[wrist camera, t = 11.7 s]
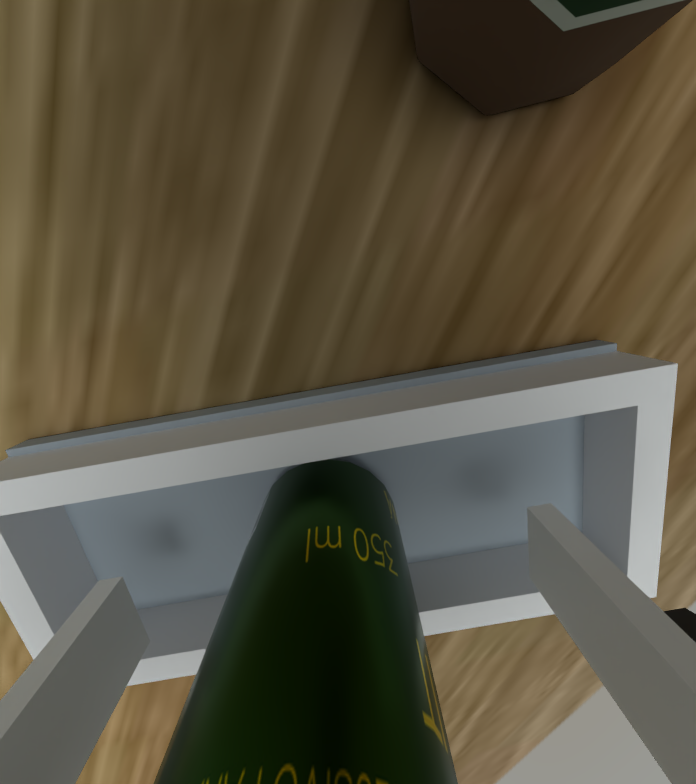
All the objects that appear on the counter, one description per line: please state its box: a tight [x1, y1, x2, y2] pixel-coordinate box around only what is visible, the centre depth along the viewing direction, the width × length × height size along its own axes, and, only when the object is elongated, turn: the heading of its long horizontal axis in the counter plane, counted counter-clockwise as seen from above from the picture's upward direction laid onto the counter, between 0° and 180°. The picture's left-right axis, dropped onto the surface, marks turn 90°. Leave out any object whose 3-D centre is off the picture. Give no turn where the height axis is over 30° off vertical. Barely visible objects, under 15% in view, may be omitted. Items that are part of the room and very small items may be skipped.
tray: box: [0, 340, 678, 686], centre depth 14 cm, size 10×24×4 cm, turn 100°
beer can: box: [154, 458, 458, 784], centre depth 9 cm, size 5×5×12 cm
